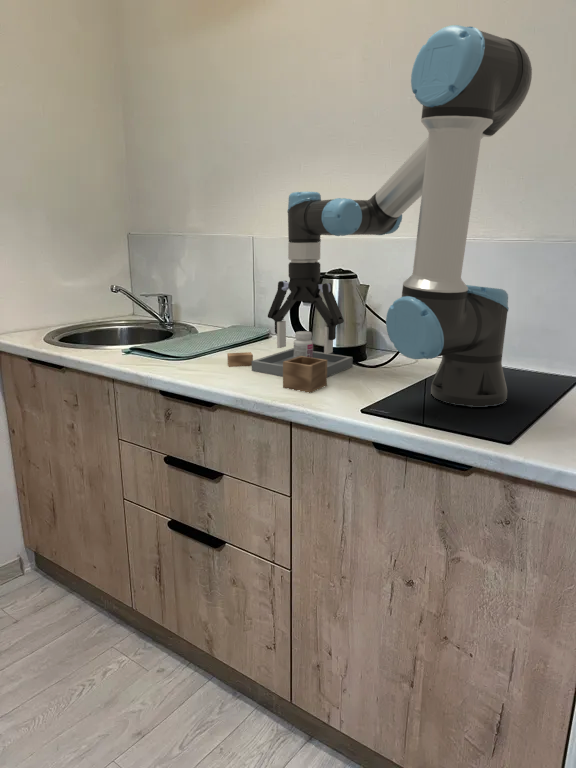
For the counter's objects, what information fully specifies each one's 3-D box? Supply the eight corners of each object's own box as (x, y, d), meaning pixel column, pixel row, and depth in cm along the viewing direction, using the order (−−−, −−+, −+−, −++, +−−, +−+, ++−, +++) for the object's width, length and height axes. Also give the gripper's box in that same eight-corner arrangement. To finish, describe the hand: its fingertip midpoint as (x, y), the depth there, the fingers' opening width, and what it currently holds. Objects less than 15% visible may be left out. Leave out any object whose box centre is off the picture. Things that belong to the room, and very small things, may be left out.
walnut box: (326, 386, 127) (327, 359, 126) (309, 393, 122) (310, 366, 120) (300, 381, 131) (300, 355, 130) (282, 388, 126) (283, 361, 124)
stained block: (250, 363, 147) (250, 352, 146) (253, 366, 144) (252, 354, 144) (227, 364, 146) (227, 353, 145) (229, 367, 143) (229, 355, 142)
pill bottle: (310, 369, 139) (311, 334, 137) (291, 367, 140) (291, 333, 137) (314, 364, 143) (314, 331, 141) (295, 363, 144) (295, 330, 142)
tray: (352, 366, 144) (352, 357, 143) (314, 382, 130) (314, 372, 129) (293, 356, 154) (293, 348, 153) (251, 370, 139) (251, 361, 139)
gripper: (359, 261, 131) (357, 353, 136) (270, 259, 144) (272, 342, 150) (343, 263, 125) (341, 358, 130) (252, 260, 138) (254, 347, 144)
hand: (304, 350), depth 140 cm, fingers open, 13 cm apart
